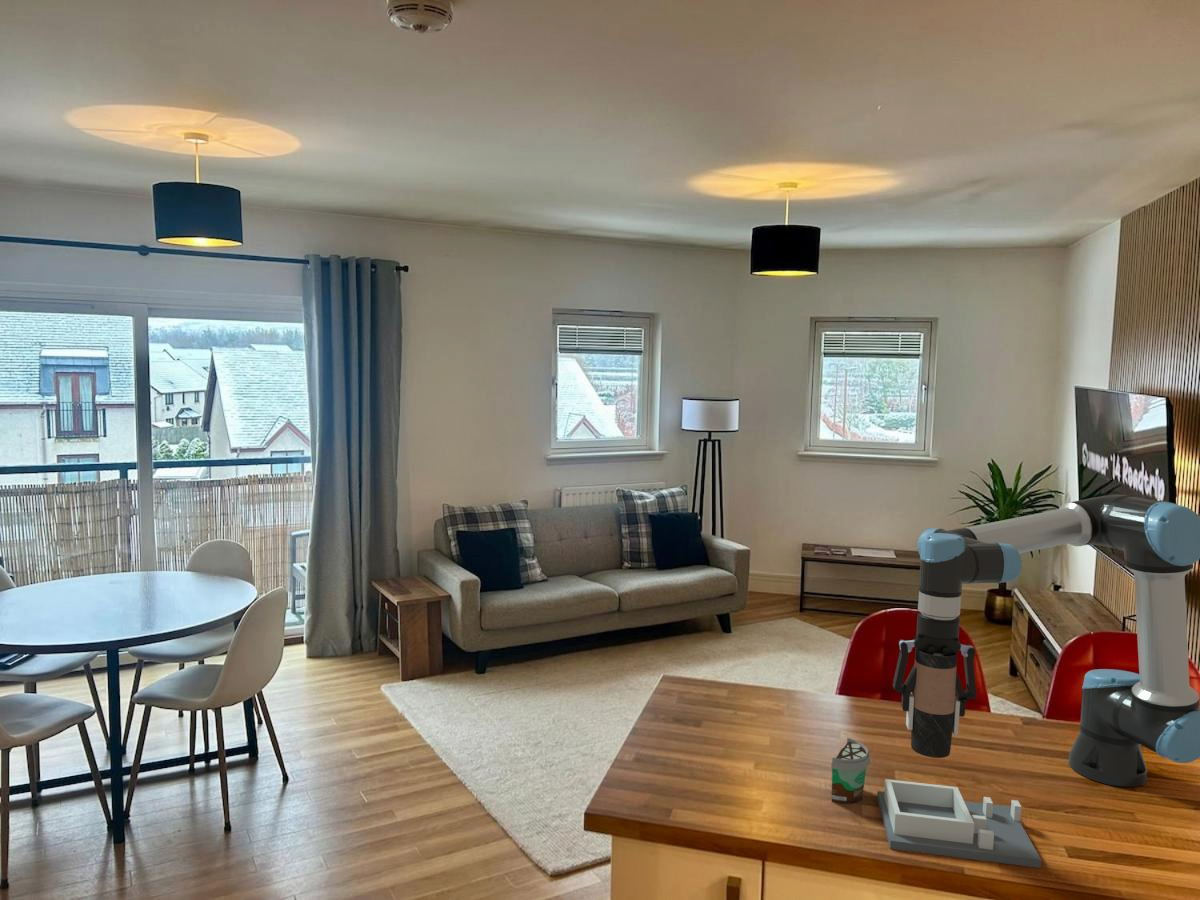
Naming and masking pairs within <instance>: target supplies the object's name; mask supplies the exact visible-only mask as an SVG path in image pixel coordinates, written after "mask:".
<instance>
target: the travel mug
mask: <svg viewBox="0 0 1200 900" xmlns="http://www.w3.org/2000/svg"><path fill="white" fill-rule="evenodd" d="M914 654H915V655H914V664H915V668H917V676H916V685H915V686H914V688H913V690H912V694H913V696H914V709H913V726H912V730H910V731H911V732H910V734H911V735H910V746H911V747H910V748H911V749H912V750H913V751H914V752H915V753H916V754H919V755H921V756H924V757H928V758H932V759H933V758H935V759H941V758H942V759H944V758H947V757H948V756H950V754H951V750H952V741H953V740H952V737H953V732H952V730H953V720H954V708H955V696H956V690H955V689H956V671H957V667H958V652H957V653H956V654H955V655H953V656H944V655H943V654H940V653H933V655H930V654H926V653H923V652H921V651H919V650H917V649H916V648H915V653H914Z"/></svg>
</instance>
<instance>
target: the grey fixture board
mask: <svg viewBox="0 0 1200 900" xmlns="http://www.w3.org/2000/svg"><path fill="white" fill-rule="evenodd" d="M876 792H877V794H876V795H877V796H876V797H877V798H876V799H877V804H878V806H879V807H878V808H879V810H880V815H881V819H882V822H883V823H882V824H883V826H884V827H883V828H884V831H885V833H886V838H887V842H888V845H889V849H890V850H897V851H904V850H905V851H906V852H912V851H913V853H919V852H924V853H923V854H927V853H929V855H936V856H937V855H938V856H943V855H944V857H951V856H952V858H957V859H958V858H959V859H968V860H975V861H983V862H989V863H991V862H992V863H997V864H1006V865H1015V866H1021V867H1022V866H1023V867H1029V868H1030V867H1031V868H1036V869H1037V868H1038V869H1041V866H1042V859H1041V857H1040V855H1039V854H1038V851H1037V850H1036V848H1035V846H1034V844H1033V843H1032V840H1031V839H1030V837H1029V836H1028V834H1027V832H1026V830H1025V828H1024V827H1023V825H1022V823H1021V821H1014V820H1013V818H1012V816H1011V805H1010V806H1008V805H1001V804H994V803H993V813H992V818H988V817H986V819H987V824H986V830H990V831H993V833H994V843H993V850H990V849H982V848H979V847H978V834H977V833H974V835H973V844H969V843H961V842H953V841H945V840H937V839H929V838H921V837H913V836H905V835H897V834H894V832H893V828H892V824H891V821H890V817H889V813H888V810H887V806H886V803H885V799H884V791H880V790H877V791H876ZM964 802H965V804H966V807H967V809H968V811H969V813H970V815H971V817H972V815H978V816H985V815H984V813H983V802H975V801H967V800H964ZM897 804H898V807H899V810H900V812H905V813H913V814H921V815H930V816H938V817H946V818H955V819H957V818H956V816H955V813H954V811H953V809H952V808H949V807H940V806H932V805H923V804H915V803H906V802H898V801H897ZM905 851H904V852H905Z"/></svg>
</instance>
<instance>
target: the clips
mask: <svg viewBox="0 0 1200 900" xmlns="http://www.w3.org/2000/svg"><path fill="white" fill-rule="evenodd" d="M982 803H983V813H984V815H985V816H978V815H972V820H973V822H974V833H977V834H978V847H979V848H982V849H990V850H993V843H994V833H993V831H990V830H986V824H987V819H986V817H988V818H992V813H993V804H994V803H993V801H992V798H991V797H990V796H989V797H988V796H983V801H982ZM1010 804H1011V805H1010V806H1011V816H1012V818H1013V820H1014V821H1020V822H1022V821H1021V818H1022V807H1023V806H1022V805H1021V803H1020V802H1019V800H1018V799H1017V800H1014V799H1011V803H1010Z"/></svg>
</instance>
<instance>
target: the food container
mask: <svg viewBox="0 0 1200 900" xmlns="http://www.w3.org/2000/svg"><path fill="white" fill-rule="evenodd" d="M846 740H847V741H846V744H845V746H843V747H842V748H841V749H840V750H839V752H838V754H837V756H836V757H832V760H831V766H830V769H832V770H831V803H835V804H840V805H853V804H857V803H859V802H861V801H862V799H863V797H864V789H865V781H866V779H865V778H866V771H867V768H868V767H869V765H870V764H871V756H870V752H869V750H868V748H867V746H865V744H863V743H862V742H860V741H858V740H856V739H853V738H849V737H847V739H846Z"/></svg>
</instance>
